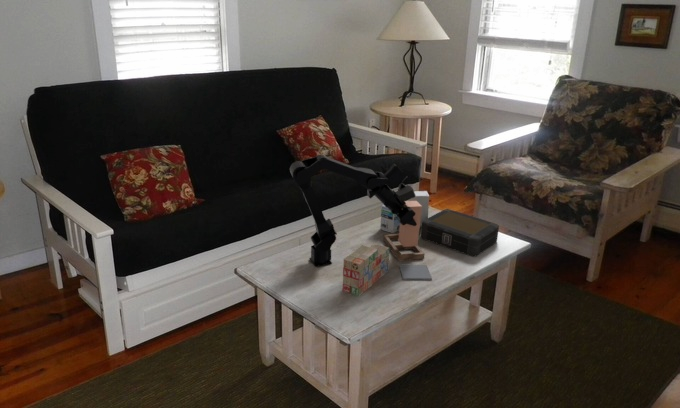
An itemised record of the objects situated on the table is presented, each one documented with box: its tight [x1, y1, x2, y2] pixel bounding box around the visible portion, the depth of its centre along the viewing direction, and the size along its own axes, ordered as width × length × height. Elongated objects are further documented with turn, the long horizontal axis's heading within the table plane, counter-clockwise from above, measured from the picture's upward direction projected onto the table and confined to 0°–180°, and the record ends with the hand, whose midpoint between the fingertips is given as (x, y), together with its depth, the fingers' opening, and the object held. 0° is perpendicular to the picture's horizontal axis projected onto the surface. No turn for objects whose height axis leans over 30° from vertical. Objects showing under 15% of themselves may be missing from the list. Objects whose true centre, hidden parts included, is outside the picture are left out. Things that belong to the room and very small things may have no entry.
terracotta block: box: [397, 200, 422, 247], centre depth 209 cm, size 6×6×16 cm
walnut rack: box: [382, 233, 426, 262], centre depth 217 cm, size 10×19×2 cm, turn 14°
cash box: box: [420, 208, 500, 257], centre depth 225 cm, size 25×20×8 cm
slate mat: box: [398, 264, 433, 281], centre depth 200 cm, size 10×10×1 cm
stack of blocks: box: [342, 243, 390, 297], centre depth 192 cm, size 21×6×12 cm, turn 148°
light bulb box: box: [380, 204, 400, 234], centre depth 234 cm, size 11×7×11 cm, turn 143°
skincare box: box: [407, 190, 430, 229], centre depth 235 cm, size 8×6×15 cm
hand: (413, 221), depth 209 cm, fingers closed on terracotta block, 5 cm apart
